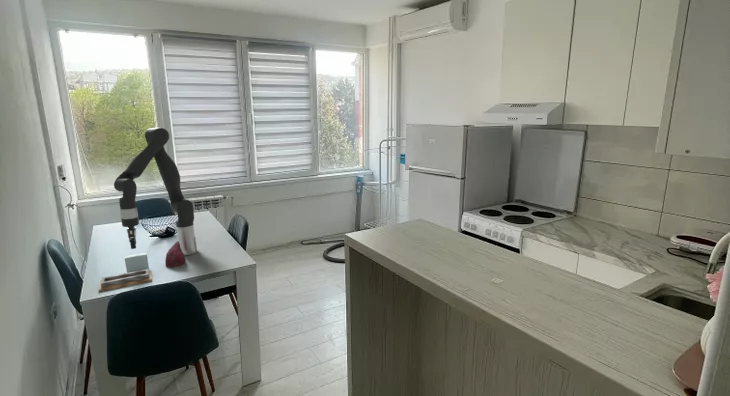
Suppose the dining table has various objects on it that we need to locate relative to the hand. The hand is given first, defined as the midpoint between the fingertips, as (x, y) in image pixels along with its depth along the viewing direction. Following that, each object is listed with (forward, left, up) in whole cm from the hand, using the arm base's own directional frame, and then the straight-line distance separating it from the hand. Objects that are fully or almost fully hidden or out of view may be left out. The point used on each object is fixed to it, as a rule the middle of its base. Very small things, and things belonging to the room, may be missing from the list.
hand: (133, 246), depth 195 cm
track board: (+5, +12, -14) cm, 19 cm away
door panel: (0, 0, -14) cm, 14 cm away
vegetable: (-18, 0, -14) cm, 23 cm away
